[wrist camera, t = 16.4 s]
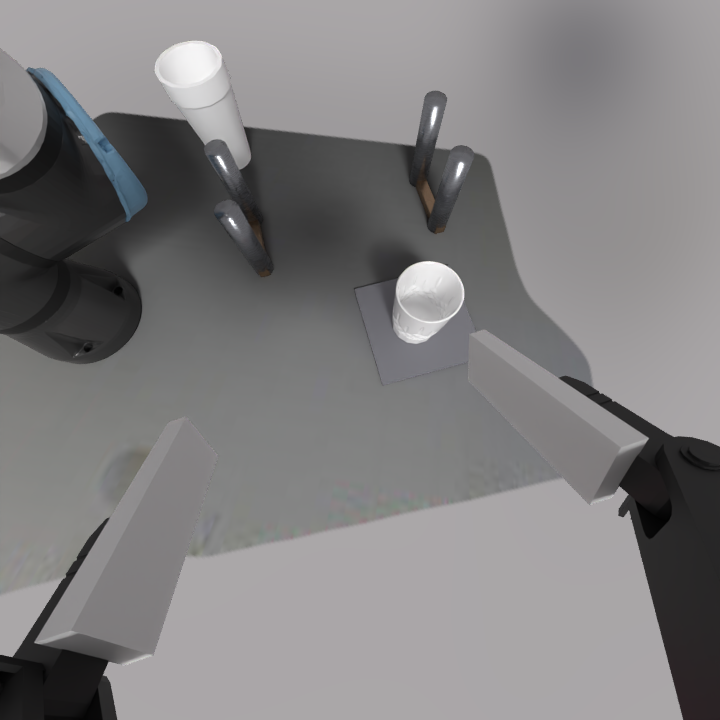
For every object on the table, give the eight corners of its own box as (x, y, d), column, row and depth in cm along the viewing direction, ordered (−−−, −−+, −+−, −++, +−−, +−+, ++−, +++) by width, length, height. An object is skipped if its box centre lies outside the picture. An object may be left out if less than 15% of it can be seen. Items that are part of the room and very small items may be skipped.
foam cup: (229, 186, 47) (178, 98, 34) (199, 157, 48) (141, 64, 36) (269, 157, 48) (235, 62, 35) (239, 130, 50) (197, 31, 37)
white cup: (398, 293, 41) (409, 252, 31) (446, 309, 40) (472, 273, 30) (380, 337, 39) (386, 308, 29) (430, 355, 38) (452, 332, 28)
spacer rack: (257, 278, 42) (215, 223, 30) (244, 214, 45) (202, 142, 33) (447, 230, 44) (477, 161, 32) (423, 172, 47) (442, 88, 35)
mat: (382, 385, 38) (382, 385, 37) (354, 290, 41) (354, 289, 41) (485, 357, 38) (486, 356, 38) (448, 266, 42) (449, 264, 42)
